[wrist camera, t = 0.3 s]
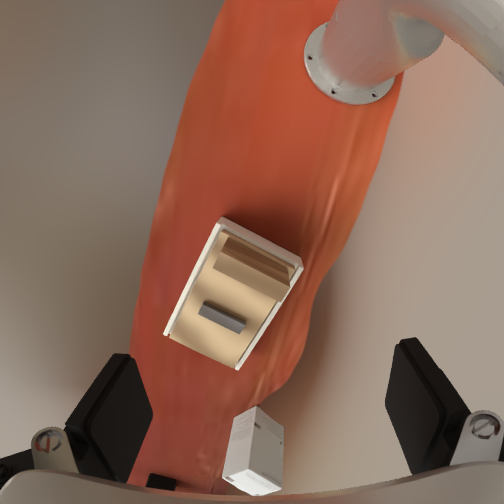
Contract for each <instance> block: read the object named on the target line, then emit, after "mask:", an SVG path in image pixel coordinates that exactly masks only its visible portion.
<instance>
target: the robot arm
mask: <svg viewBox="0 0 504 504" xmlns="http://www.w3.org/2000/svg"><path fill="white" fill-rule="evenodd" d="M444 34H445V35H447V36H448V37H449V38H451V39H452V40H453V41H455V42H456V43H458V44H459V45H460V46H462V47H463V48H464V49H465V50H466V51H468V52H469V53H470V54H471V55H472V56H473V57H474V58H476V59H477V60H478V61H479V62H480V63H481V64H482V65H483V66H484V67H485V68H486V69H487V70H488V71H489V72H490V73H491V74H492V75H493V76H494V77H496V78H497V79H498V80H499V81H500V82H501V83H502V84H503V85H504V0H339V2H338V4H337V6H336V8H335V10H334V12H333V14H332V17H331V19H330V21H329V22H326V23H324V24H322V25H320V26H319V27H318V28H316V29H315V30H314V31H313V32H312V33H311V35H310V36H309V38H308V40H307V42H306V45H305V48H304V64H305V67H306V70H307V73H308V75H309V77H310V79H311V80H312V82H313V83H314V84H315V85H316V87H317V88H318V89H319V90H321V91H322V92H323V93H324V94H325V95H327V96H329V97H330V98H332V99H334V100H336V101H339V102H341V103H345V104H349V105H363V104H368V103H371V102H374V101H376V100H378V99H380V98H381V97H383V96H384V95H385V94H386V93H387V92H388V91H389V90H390V89H391V87H392V85H393V83H394V80H395V76H396V75H397V74H399V73H401V72H402V71H404V70H406V69H408V68H409V67H411V66H413V65H415V64H416V63H418V62H420V61H421V60H423V59H425V58H426V57H428V56H430V55H431V54H432V53H434V52H435V51H436V50H437V48H438V47H439V46H440V44H441V42H442V40H443V37H444ZM309 57H310V58H312V60H309V59H308V58H309ZM332 91H334V92H335V94H332V93H331V92H332ZM372 94H374V97H373V96H372ZM385 407H386V410H387V412H388V415H389V417H390V419H391V422H392V425H393V427H394V430H395V432H396V435H397V437H398V440H399V442H400V445H401V447H402V450H403V453H404V455H405V458H406V461H407V463H408V466H409V469H410V471H411V473H412V475H411V476H407V477H403V478H399V479H394V480H390V481H385V482H380V483H375V484H370V485H364V486H359V487H353V488H347V489H340V490H332V491H325V492H315V493H304V494H290V495H270V496H232V495H211V494H197V493H186V492H177V491H168V490H161V489H154V488H148V487H142V486H136V485H131V484H126V483H127V481H128V478H129V476H130V473H131V471H132V468H133V465H134V463H135V460H136V458H137V455H138V453H139V450H140V448H141V445H142V443H143V440H144V438H145V436H146V433H147V431H148V428H149V426H150V423H151V421H152V418H153V411H152V408H151V405H150V402H149V400H148V397H147V394H146V391H145V388H144V385H143V382H142V379H141V376H140V373H139V370H138V367H137V364H136V361H135V359H134V358H131V356H130V355H129V354H118V353H115V354H113V355H112V357H111V358H110V359H109V361H108V362H107V364H106V365H105V366H104V368H103V369H102V371H101V372H100V373H99V375H98V376H97V378H96V379H95V380H94V382H93V383H92V385H91V386H90V388H89V389H88V390H87V392H86V393H85V395H84V396H83V398H82V399H81V401H80V402H79V403H78V405H77V407H76V408H75V409H74V411H73V412H72V414H71V415H70V417H69V418H68V420H67V422H66V423H65V425H66V427H65V428H64V430H62V429H61V428H58V427H47V428H44V429H42V430H40V431H38V432H37V433H36V434H35V435H34V436H33V438H32V441H31V449H28V450H26V451H23V452H19V453H16V454H13V455H10V456H7V457H4V458H1V459H0V504H504V422H503V420H502V419H501V418H500V416H498V415H497V414H495V413H494V412H491V411H485V410H481V411H476V412H474V413H471V412H470V410H469V409H468V407H467V406H466V404H465V403H464V401H463V400H462V398H461V397H460V396H459V394H458V392H457V391H456V390H455V388H454V387H453V385H452V384H451V382H450V381H449V380H448V378H447V377H446V375H445V374H444V373H443V371H442V370H441V369H440V368H438V366H437V365H436V363H435V362H434V361H433V359H432V358H431V356H430V355H429V354H428V352H427V351H426V350H425V348H424V347H423V345H422V344H421V343H420V341H419V340H418V339H417V338H416V337H414V338H408V339H402V340H401V341H400V342H399V344H396V346H395V350H394V356H393V362H392V368H391V373H390V379H389V384H388V389H387V394H386V398H385Z"/></svg>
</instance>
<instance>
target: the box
mask: <svg viewBox="0 0 504 504" xmlns="http://www.w3.org/2000/svg"><path fill="white" fill-rule="evenodd" d="M223 229H225V230H227V231H229V232H231V233H233V234H235V235H237V236H238V237H240V238H242V239H244V240H246V241H248V242H250V243H252V244H254V245H256V246H258V247H260V248H261V249H263V250H265V251H267V252H269V253H271V254H273V255H275V256H277V257H279V258H281V259H283V260H284V261H286V262H288V263H290V264H292V265H294V266H295V272H294V273H293V275H292V277H291V278H290V280H289V281H290V289H289V291H288V292H287V294H286V295H285V297H284V299H283V300H282V302H278V301H276V302H275V304H274V306H273V307H272V309H271V310H270V312H269V314H268V315H267V317H266V318H265V320H264V322H263V323H262V325H261V326H260V328H259V329H258V331H257V333H256V334H255V336H254V337H253V339H252V340H251V342H250V343H249V345H248V346H247V348H246V350H245V351H244V353H243V354H242V356H241V357H240V359H239V360H238V362H237V363H236V365H235V369H236V370H239V369H240V367H241V366H242V364H243V363H244V361H245V360H246V358H247V357H248V355H249V354H250V352H251V351H252V349H253V348H254V346H255V345H256V343H257V342H258V340H259V339H260V337H261V336H262V334H263V333H264V331H265V329H266V328H267V326H268V325H269V323H270V322H271V320H272V319H273V317H274V316H275V314H276V312H277V311H278V309H279V308H280V306H281V305H282V303H283V301H284V300H285V298H286V297H287V295H288V293H289V292H290V290H291V289H292V287H293V285H294V284H295V282H296V281H297V279H298V277H299V276H300V274H301V272H302V271H303V269H304V267H303V264H302V260H301V257H299V256H297V255H295V254H293V253H291V252H289V251H288V250H286V249H284V248H282V247H280V246H278V245H276V244H274V243H272V242H271V241H269V240H267V239H265V238H263V237H261V236H259V235H257V234H255V233H253V232H251V231H250V230H248V229H246V228H244V227H242V226H240V225H238V224H236V223H234V222H232V221H230V220H228V219H227V218H225V217H223V216H221V218H220V219H219V220H218V222H217V223H216V225H215V227H214V229H213V231H212V233H211V235H210V237H209V239H208V241H207V243H206V245H205V247H204V249H203V251H202V253H201V255H200V257H199V259H198V261H197V263H196V265H195V267H194V269H193V272H192V274H191V276H190V278H189V280H188V282H187V284H186V286H185V288H184V290H183V292H182V295H181V297H180V299H179V301H178V303H177V305H176V307H175V309H174V312H173V314H172V316H171V318H170V320H169V322H168V325H167V327H166V329H165V331H164V333H163V335H165V336H167V335H168V333H169V334H171V333H172V331H173V328H174V326H175V324H176V322H177V320H178V318H179V316H180V314H181V312H182V310H183V308H184V306H185V303H186V301H187V299H188V297H189V295H190V293H191V291H192V289H193V287H194V285H195V283H196V281H197V279H198V277H199V275H200V273H201V271H202V269H203V267H204V265H205V263H206V261H207V259H208V257H209V255H210V253H211V251H212V249H213V247H214V245H215V243H216V241H217V239H218V237H219V235H220V233H221V231H222V230H223Z"/></svg>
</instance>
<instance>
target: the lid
mask: <svg viewBox="0 0 504 504" xmlns="http://www.w3.org/2000/svg"><path fill="white" fill-rule="evenodd" d="M294 272H295V266H294V265H292V264H290V263H288V262H286V261H284V260H283V259H281V258H279V257H277V256H275V255H273V254H271V253H269V252H267V251H265V250H263V249H261V248H260V247H258V246H256V245H254V244H252V243H250V242H248V241H246V240H244V239H242V238H240V237H238V236H237V235H235V234H233V233H231V232H229V231H227V230H225V229H223V230H222V231H221V233H220V235H219V237H218V239H217V241H216V243H215V245H214V247H213V249H212V251H211V253H210V255H209V257H208V259H207V261H206V263H205V265H204V267H203V269H202V271H201V273H200V275H199V277H198V279H197V281H196V283H195V285H194V287H193V289H192V291H191V293H190V295H189V297H188V299H187V301H186V303H185V306H184V308H183V310H182V312H181V314H180V316H179V318H178V320H177V322H176V324H175V326H174V328H173V331H172V333H171V335H170V337H169V338H171V339H173V340H175V341H177V342H179V343H181V344H183V345H185V346H187V347H189V348H191V349H193V350H195V351H197V352H199V353H201V354H203V355H205V356H208V357H210V358H212V359H214V360H216V361H218V362H220V363H223V364H225V365H227V366H229V367H232V368H234V366H235V365H236V363H237V362H238V360H239V359H240V357H241V356H242V354H243V353H244V351H245V350H246V348H247V346H248V345H249V343H250V342H251V340H252V339H253V337H254V336H255V334H256V333H257V331H258V329H259V328H260V326H261V325H262V323H263V322H264V320H265V318H266V317H267V315H268V314H269V312H270V310H271V309H272V307H273V306H274V304H275V302H276V301H278V302H282V300H283V299H284V297H285V295H286V294H287V292H288V291H289V289H290V281H289V280H290V278H291V277H292V275H293V273H294Z"/></svg>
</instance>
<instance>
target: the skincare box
mask: <svg viewBox="0 0 504 504" xmlns="http://www.w3.org/2000/svg"><path fill="white" fill-rule="evenodd" d="M283 441H284V427H283V426H282V425H280V424H279V423H277V422H276V421H275V420H273V419H272V418H271V417H269V416H268V415H267V414H266V413H265V412H263V411H262V410H261V409H260V408H259V407H258V406H255V407H253V408H251V409H249V410H247V411H245V412H244V413H242V414H240V415H238V416H236V417H234V420H233V425H232V430H231V435H230V440H229V445H228V450H227V455H226V460H225V465H224V470H223V475H222V478H223V479H225V480H226V481H228V482H230V483H232V484H233V485H235V486H236V487H237V488H238V489H240V490H242V491H245V492H247V493H249V494H251V495H252V496H262V495H265V494H268V493H271V492H275V491H278V490H281V489H282V468H283Z"/></svg>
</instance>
